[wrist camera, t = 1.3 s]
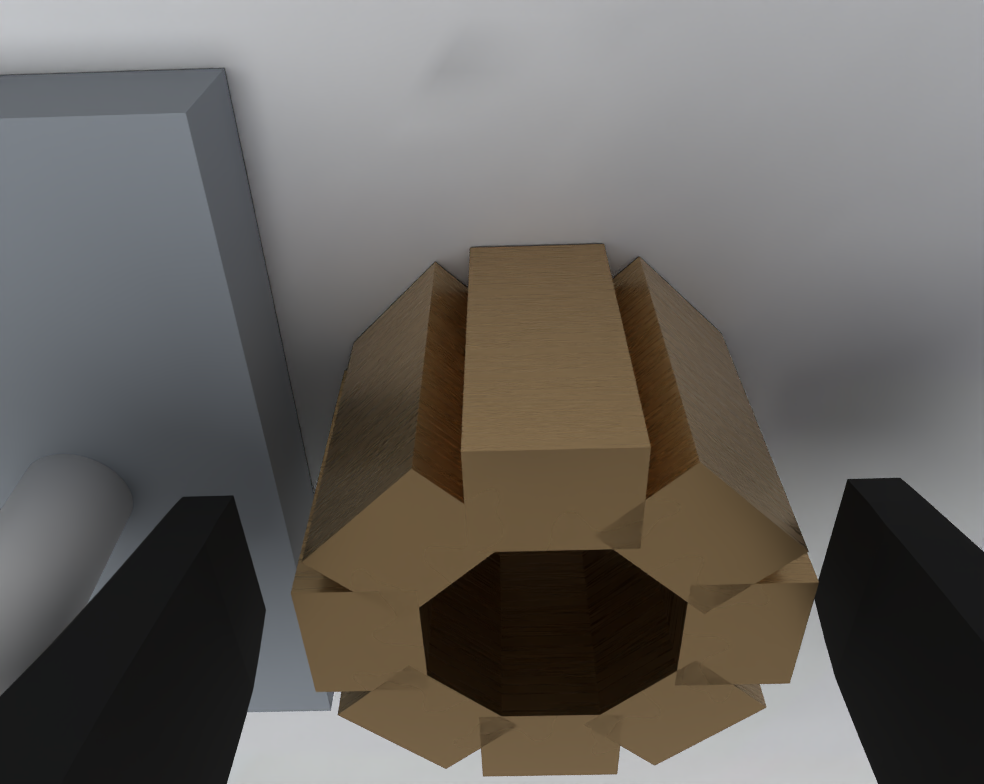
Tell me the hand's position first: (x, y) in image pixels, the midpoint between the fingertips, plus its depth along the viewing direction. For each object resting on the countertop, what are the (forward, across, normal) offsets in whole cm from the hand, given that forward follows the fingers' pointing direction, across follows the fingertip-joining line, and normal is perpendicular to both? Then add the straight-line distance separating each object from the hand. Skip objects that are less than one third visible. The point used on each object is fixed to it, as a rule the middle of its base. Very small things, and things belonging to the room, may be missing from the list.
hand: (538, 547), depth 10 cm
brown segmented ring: (+3, 0, 0) cm, 3 cm away
